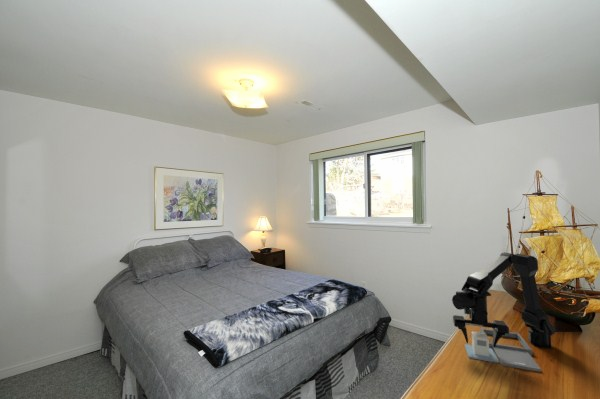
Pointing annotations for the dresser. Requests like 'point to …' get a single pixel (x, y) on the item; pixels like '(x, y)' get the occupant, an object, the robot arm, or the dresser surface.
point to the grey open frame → (513, 353)
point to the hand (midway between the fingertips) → (480, 344)
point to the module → (480, 343)
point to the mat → (471, 354)
